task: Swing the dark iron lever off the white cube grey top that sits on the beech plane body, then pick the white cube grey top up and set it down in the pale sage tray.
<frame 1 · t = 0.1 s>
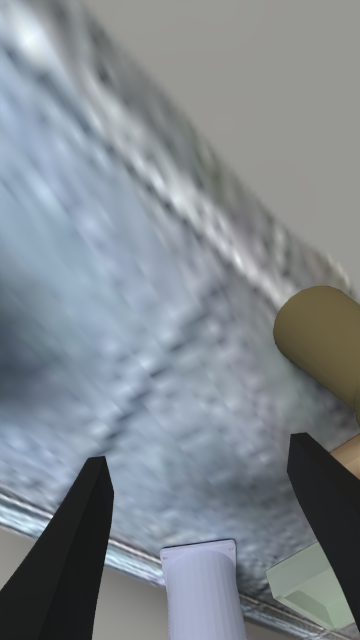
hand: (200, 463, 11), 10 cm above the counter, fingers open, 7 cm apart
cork: (312, 324, 20), on the counter
tray: (332, 569, 33), on the counter
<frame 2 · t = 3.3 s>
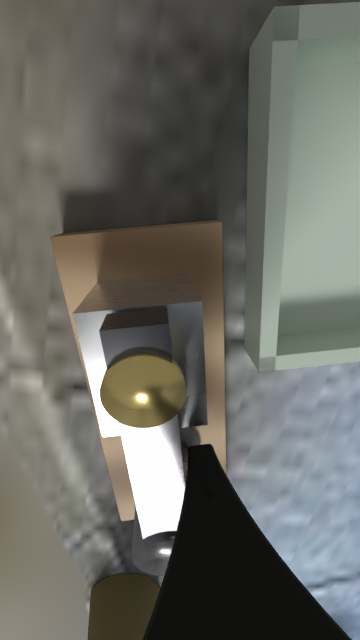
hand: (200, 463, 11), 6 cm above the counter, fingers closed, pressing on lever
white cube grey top: (150, 329, 13), point 2 cm above the counter, touching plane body
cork: (126, 590, 25), on the counter
tray: (358, 217, 13), on the counter
lever: (157, 432, 11), point 5 cm above the counter, hinge at 0.0°, touching gripper
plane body: (159, 387, 16), on the counter
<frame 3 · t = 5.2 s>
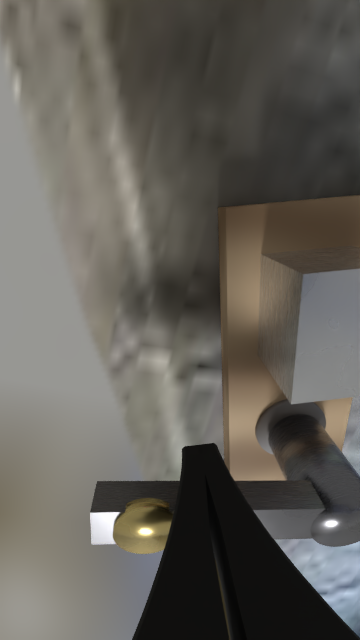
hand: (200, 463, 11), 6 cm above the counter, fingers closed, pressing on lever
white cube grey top: (300, 303, 13), point 2 cm above the counter, touching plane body
lever: (230, 474, 13), point 5 cm above the counter, hinge at 80.2°, touching gripper
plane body: (280, 366, 16), on the counter
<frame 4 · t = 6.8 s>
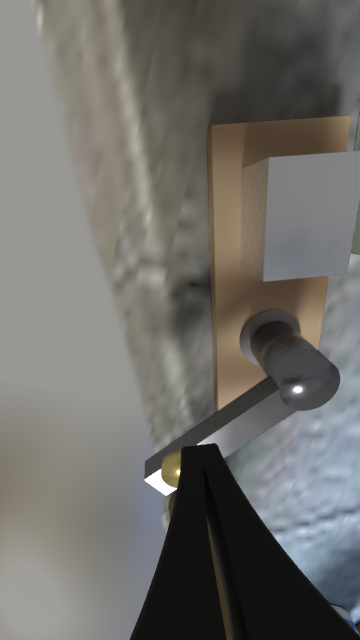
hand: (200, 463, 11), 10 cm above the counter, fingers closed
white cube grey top: (276, 217, 15), point 2 cm above the counter, touching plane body
supplement tub: (314, 617, 38), on the counter
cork: (199, 502, 27), on the counter
lever: (228, 404, 16), point 5 cm above the counter, hinge at 125.6°
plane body: (262, 287, 19), on the counter
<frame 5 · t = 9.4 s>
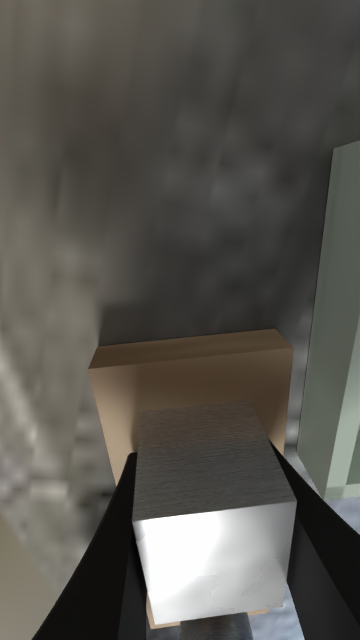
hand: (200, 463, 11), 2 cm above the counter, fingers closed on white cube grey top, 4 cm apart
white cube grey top: (198, 454, 11), point 2 cm above the counter, touching gripper, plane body
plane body: (198, 492, 14), on the counter
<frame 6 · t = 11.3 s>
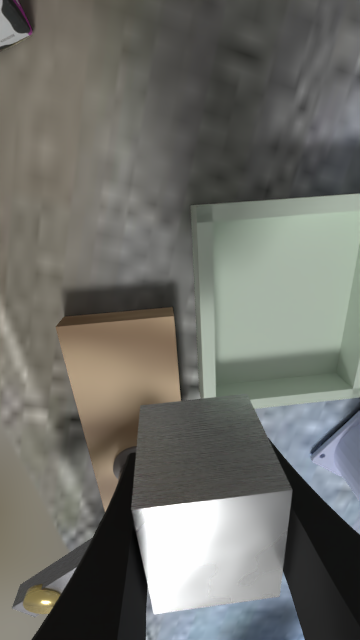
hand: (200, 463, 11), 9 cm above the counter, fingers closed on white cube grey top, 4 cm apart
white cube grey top: (197, 449, 11), point 9 cm above the counter, touching gripper
tray: (276, 303, 19), on the counter
lever: (92, 535, 19), point 5 cm above the counter, hinge at 125.9°
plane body: (136, 419, 21), on the counter
when the fingers open (3 cm above the counter, at t = 13.5 s): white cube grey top drops 2 cm, resting on tray.
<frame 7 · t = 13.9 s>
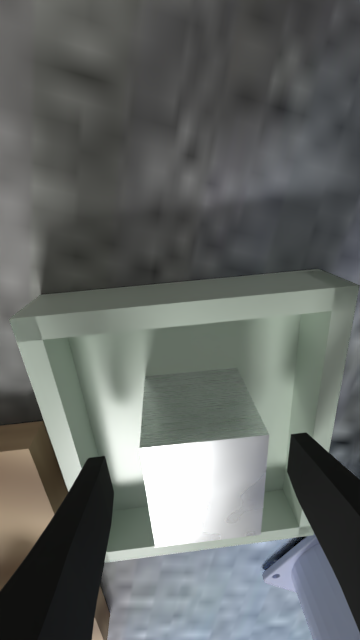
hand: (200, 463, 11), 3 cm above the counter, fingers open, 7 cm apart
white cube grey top: (193, 417, 13), resting on tray
tray: (191, 411, 13), on the counter
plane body: (24, 545, 16), on the counter
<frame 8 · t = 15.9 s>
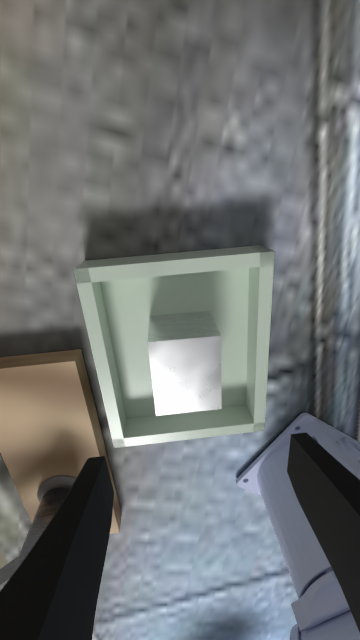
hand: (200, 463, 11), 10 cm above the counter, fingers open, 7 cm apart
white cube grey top: (181, 346, 19), resting on tray
tray: (180, 344, 20), on the counter
lever: (12, 561, 20), point 5 cm above the counter, hinge at 125.9°
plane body: (61, 449, 23), on the counter
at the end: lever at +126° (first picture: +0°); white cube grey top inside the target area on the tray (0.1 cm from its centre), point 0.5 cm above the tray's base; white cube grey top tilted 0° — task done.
